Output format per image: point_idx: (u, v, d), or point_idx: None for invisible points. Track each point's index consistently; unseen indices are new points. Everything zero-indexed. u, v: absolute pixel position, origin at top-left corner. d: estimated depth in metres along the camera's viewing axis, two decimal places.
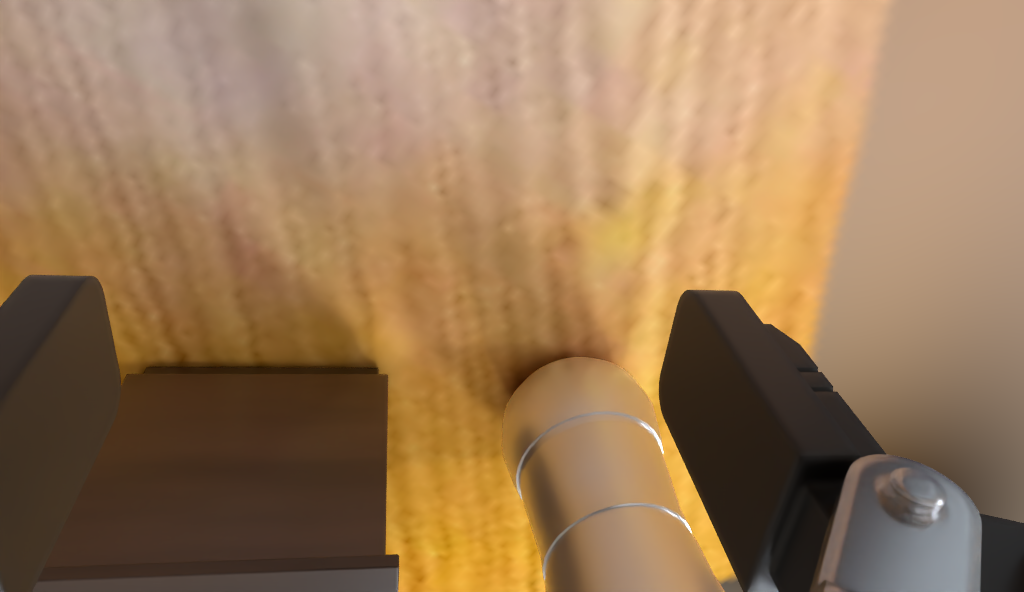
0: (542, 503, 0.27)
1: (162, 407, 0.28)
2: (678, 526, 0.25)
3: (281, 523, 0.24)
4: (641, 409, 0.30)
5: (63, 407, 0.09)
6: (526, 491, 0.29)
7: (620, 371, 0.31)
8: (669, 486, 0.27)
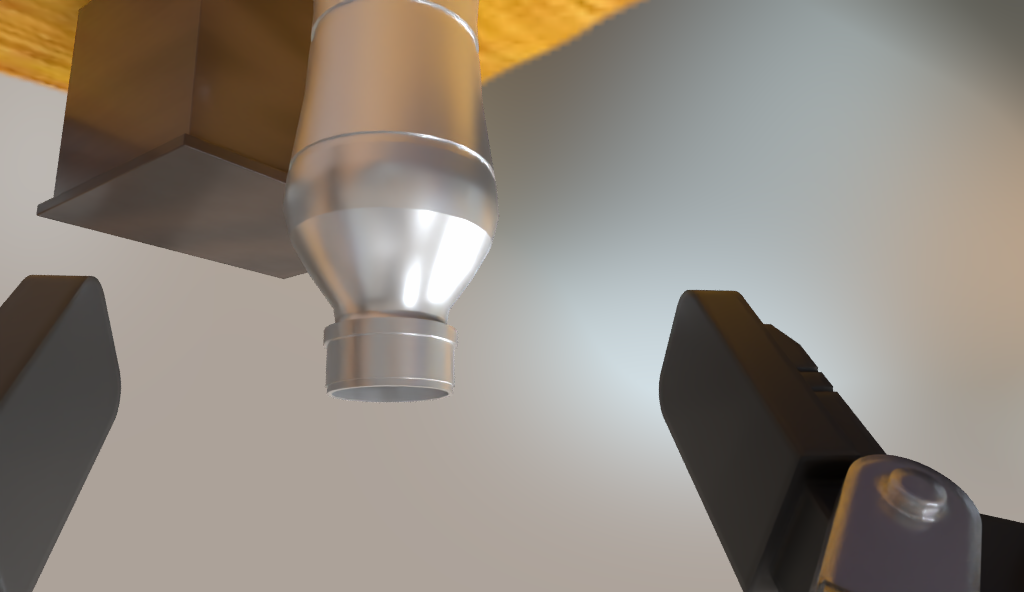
0: None
1: (93, 35, 0.33)
2: (374, 17, 0.21)
3: (142, 122, 0.29)
4: None
5: (63, 407, 0.09)
6: None
7: None
8: None
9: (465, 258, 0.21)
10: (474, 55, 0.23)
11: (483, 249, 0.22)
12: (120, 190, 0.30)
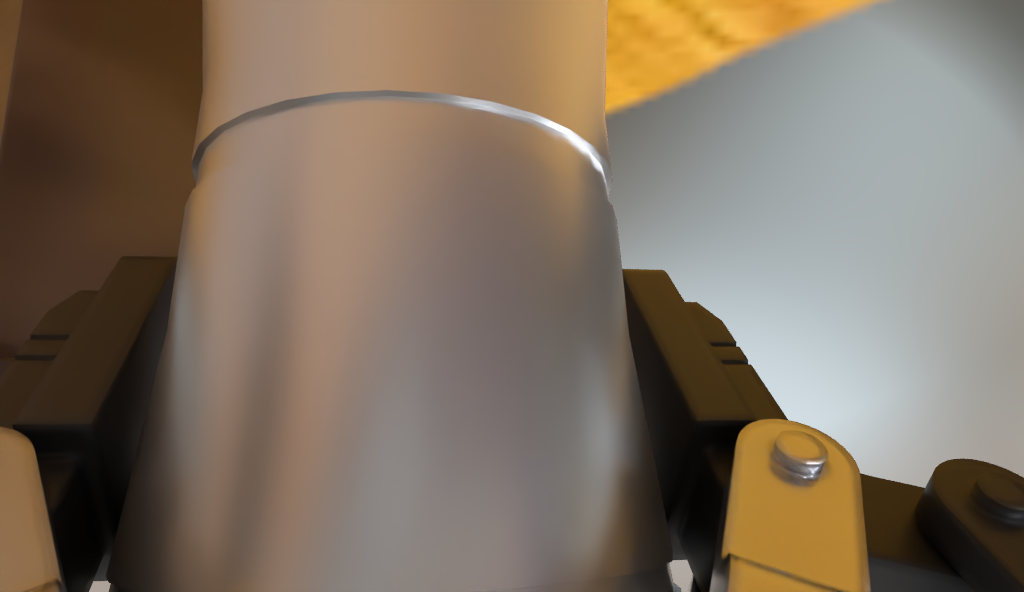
0: None
1: None
2: (347, 164, 0.07)
3: None
4: None
5: None
6: None
7: None
8: None
9: None
10: (614, 232, 0.09)
11: None
12: None
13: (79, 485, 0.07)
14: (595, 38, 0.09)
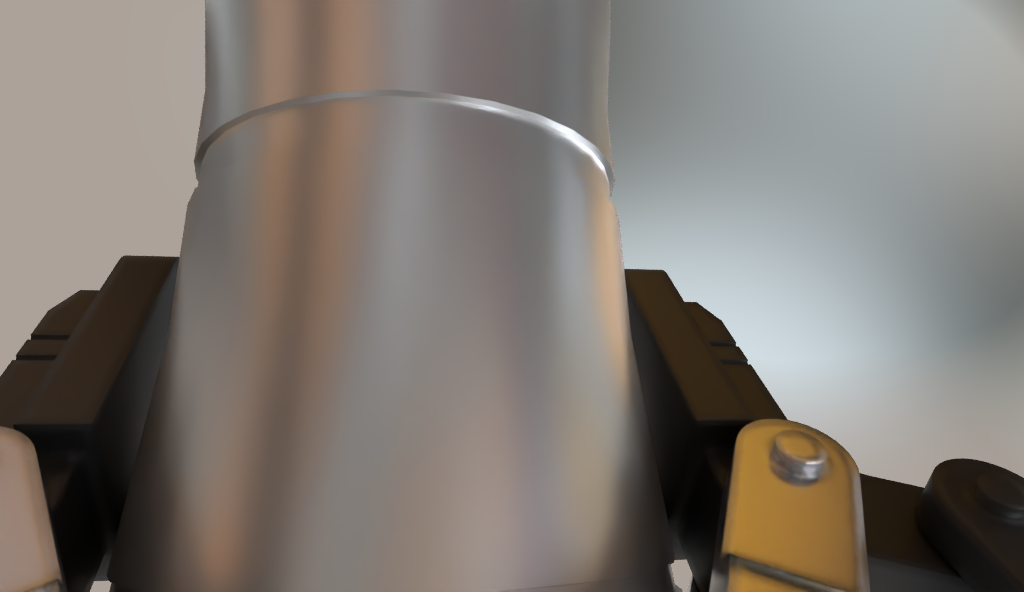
0: None
1: None
2: (350, 163, 0.07)
3: None
4: None
5: None
6: None
7: None
8: None
9: None
10: (617, 233, 0.09)
11: None
12: None
13: (80, 485, 0.07)
14: (598, 38, 0.09)
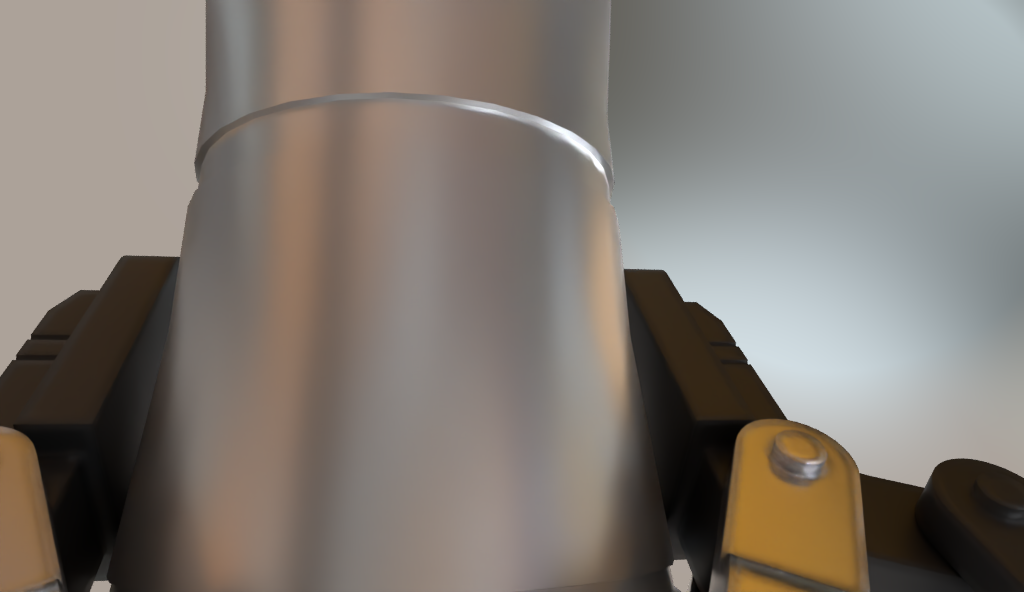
0: None
1: None
2: (350, 166, 0.07)
3: None
4: None
5: None
6: None
7: None
8: None
9: None
10: (616, 235, 0.09)
11: None
12: None
13: (80, 485, 0.07)
14: (598, 41, 0.09)
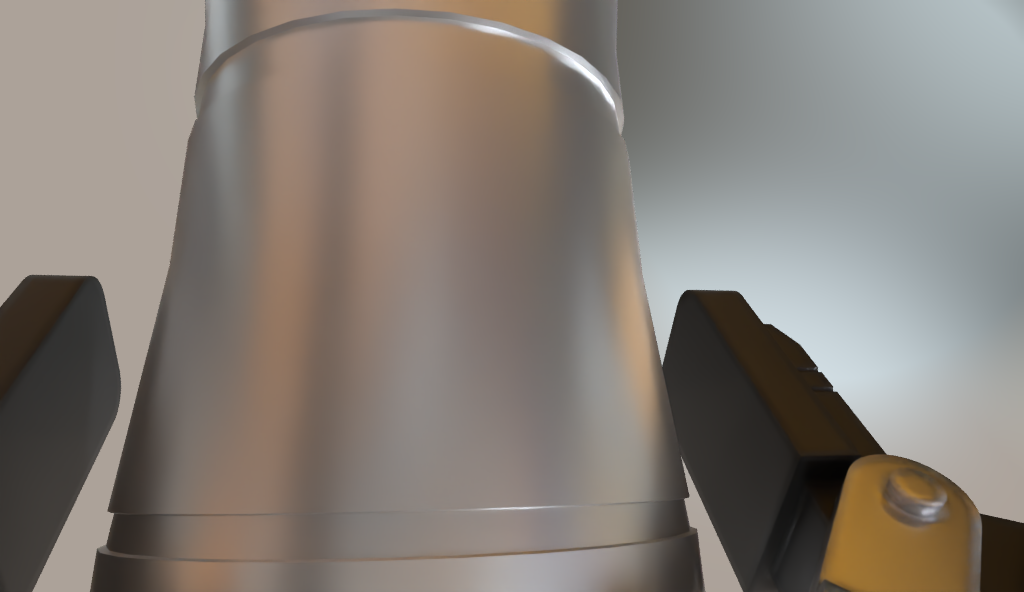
0: None
1: None
2: (354, 82, 0.07)
3: None
4: None
5: (63, 407, 0.09)
6: None
7: None
8: None
9: None
10: (627, 168, 0.09)
11: None
12: None
13: None
14: None
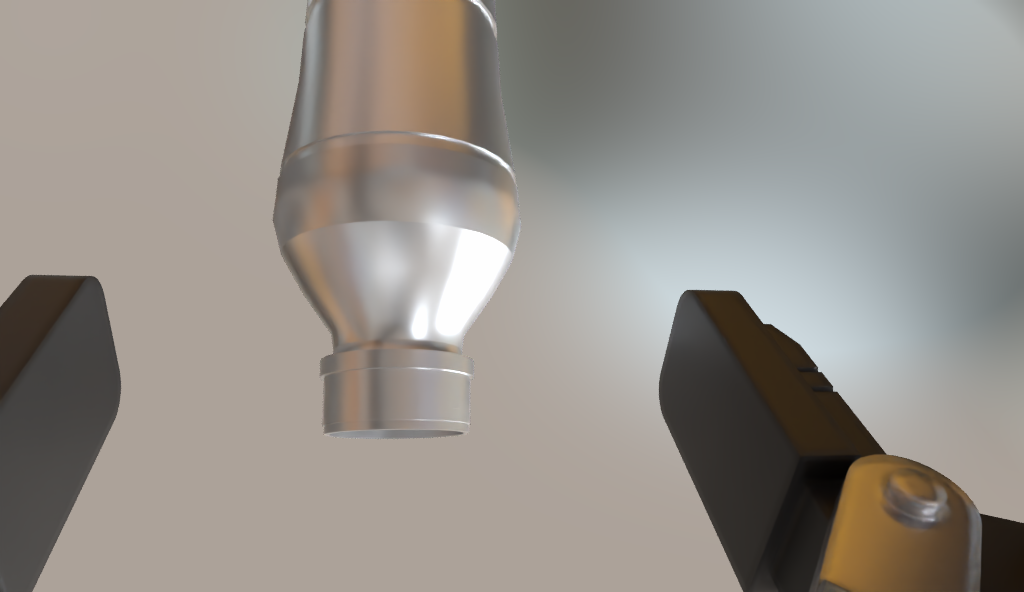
0: None
1: None
2: None
3: None
4: None
5: (63, 407, 0.09)
6: None
7: None
8: None
9: (483, 277, 0.18)
10: (492, 41, 0.20)
11: (503, 266, 0.19)
12: None
13: None
14: None
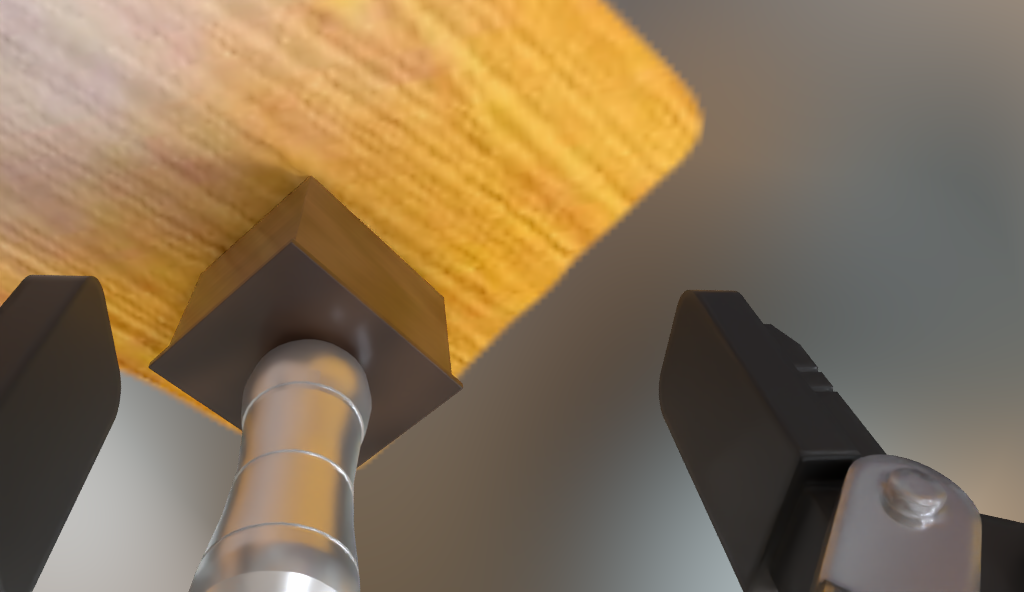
0: None
1: (213, 272, 0.46)
2: (271, 462, 0.31)
3: (253, 270, 0.40)
4: (291, 372, 0.36)
5: (63, 407, 0.09)
6: None
7: (286, 348, 0.38)
8: (296, 425, 0.34)
9: None
10: (345, 487, 0.33)
11: None
12: (228, 316, 0.39)
13: None
14: (345, 445, 0.34)
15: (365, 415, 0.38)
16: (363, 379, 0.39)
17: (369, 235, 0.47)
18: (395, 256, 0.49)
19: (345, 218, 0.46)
